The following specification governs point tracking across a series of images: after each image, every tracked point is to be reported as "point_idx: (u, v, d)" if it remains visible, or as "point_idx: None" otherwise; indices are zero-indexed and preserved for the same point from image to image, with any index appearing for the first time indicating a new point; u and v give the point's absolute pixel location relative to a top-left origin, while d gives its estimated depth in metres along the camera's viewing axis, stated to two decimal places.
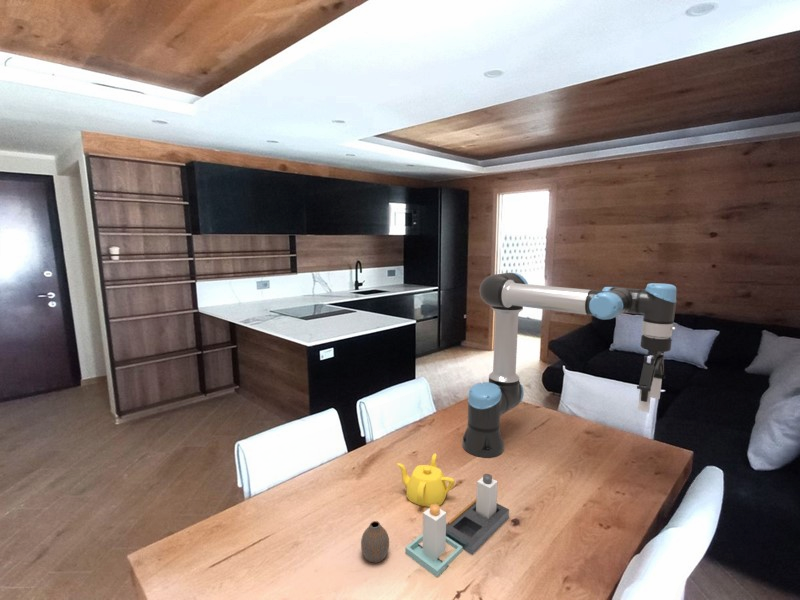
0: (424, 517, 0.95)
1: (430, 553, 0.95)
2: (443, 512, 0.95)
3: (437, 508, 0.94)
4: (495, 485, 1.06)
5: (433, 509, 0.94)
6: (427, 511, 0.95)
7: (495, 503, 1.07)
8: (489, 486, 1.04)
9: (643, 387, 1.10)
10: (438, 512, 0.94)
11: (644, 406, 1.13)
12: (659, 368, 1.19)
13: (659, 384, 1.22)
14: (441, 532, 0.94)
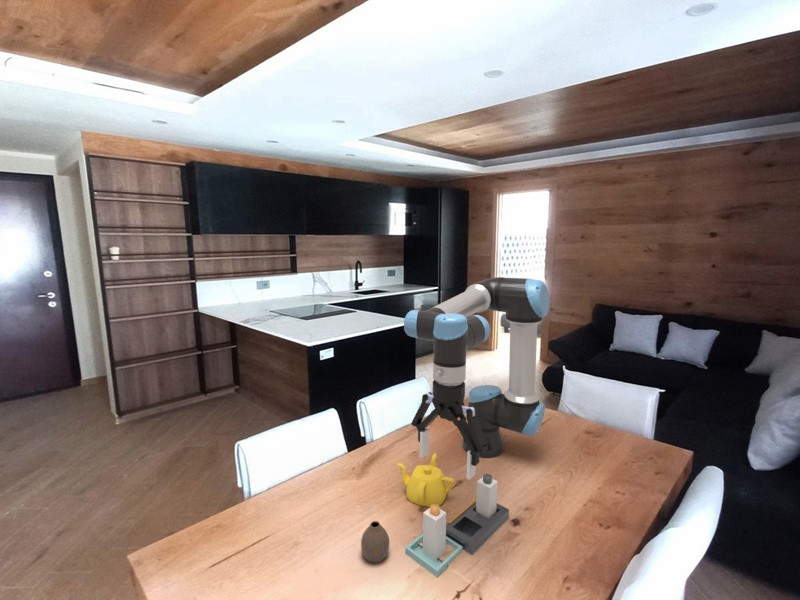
0: (424, 517, 0.95)
1: (430, 553, 0.95)
2: (443, 512, 0.95)
3: (437, 508, 0.94)
4: (495, 485, 1.06)
5: (433, 509, 0.94)
6: (427, 511, 0.95)
7: (495, 503, 1.07)
8: (489, 486, 1.04)
9: None
10: (438, 512, 0.94)
11: None
12: None
13: None
14: (441, 532, 0.94)
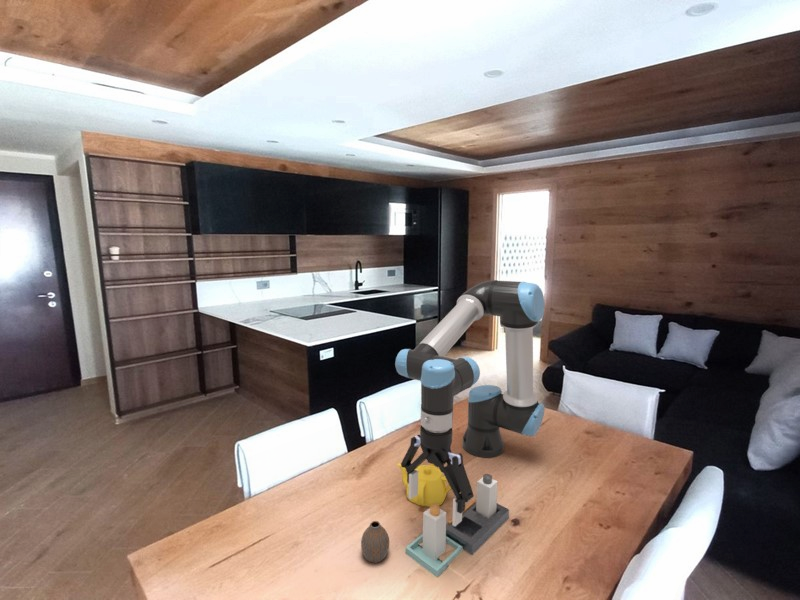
0: (424, 517, 0.95)
1: (430, 553, 0.95)
2: (443, 512, 0.95)
3: (437, 508, 0.94)
4: (495, 485, 1.06)
5: (433, 509, 0.94)
6: (427, 511, 0.95)
7: (495, 503, 1.07)
8: (489, 486, 1.04)
9: None
10: (438, 512, 0.94)
11: None
12: None
13: None
14: (441, 532, 0.94)
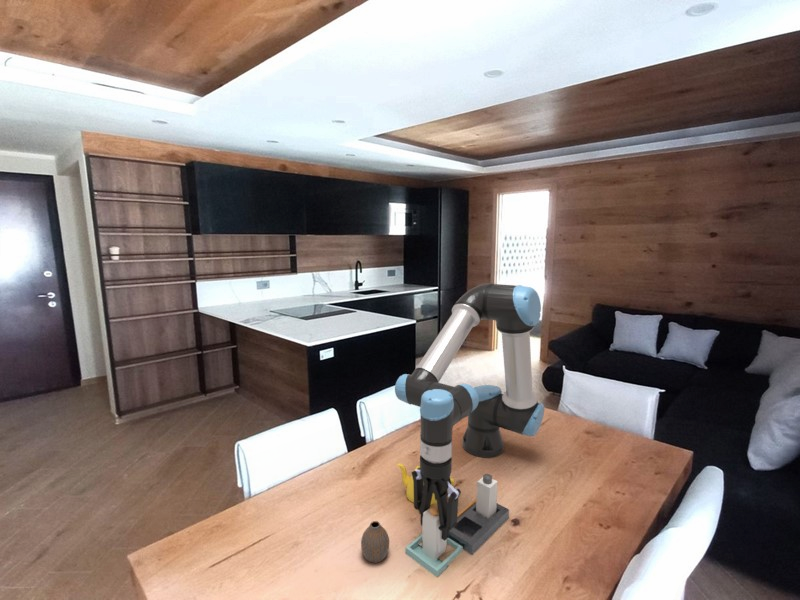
0: (424, 517, 0.95)
1: (430, 553, 0.95)
2: None
3: (437, 508, 0.94)
4: (495, 485, 1.06)
5: (433, 509, 0.94)
6: (427, 511, 0.95)
7: (495, 503, 1.07)
8: (489, 486, 1.04)
9: None
10: None
11: None
12: None
13: None
14: None
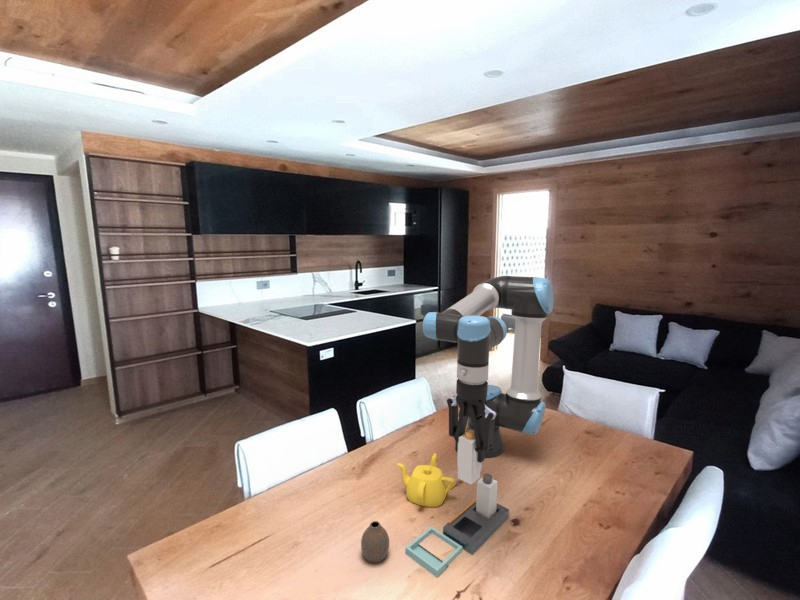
0: (460, 441, 0.97)
1: (465, 476, 0.97)
2: None
3: (473, 432, 0.97)
4: (495, 485, 1.06)
5: (469, 433, 0.96)
6: (462, 436, 0.98)
7: (495, 503, 1.07)
8: (489, 486, 1.04)
9: None
10: (474, 436, 0.97)
11: None
12: None
13: None
14: None
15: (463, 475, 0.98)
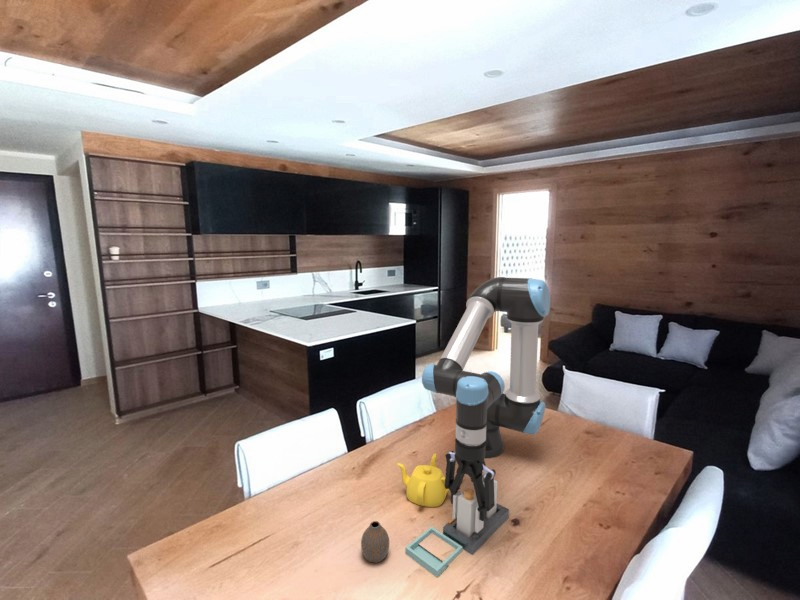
0: (459, 501, 1.00)
1: None
2: None
3: (471, 493, 0.99)
4: (495, 485, 1.06)
5: (468, 493, 0.99)
6: (461, 495, 1.00)
7: (495, 503, 1.07)
8: None
9: None
10: (472, 496, 0.99)
11: None
12: None
13: None
14: None
15: None
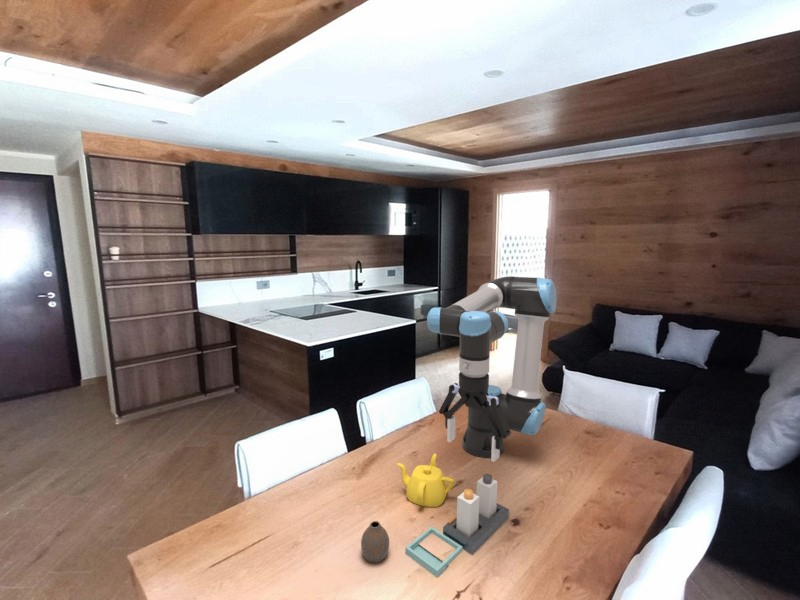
0: (458, 501, 1.00)
1: None
2: (476, 496, 1.00)
3: (471, 492, 0.99)
4: (495, 485, 1.06)
5: (467, 493, 0.99)
6: (461, 495, 1.00)
7: (495, 503, 1.07)
8: (489, 486, 1.04)
9: None
10: (472, 496, 0.99)
11: None
12: None
13: None
14: (474, 516, 0.99)
15: None
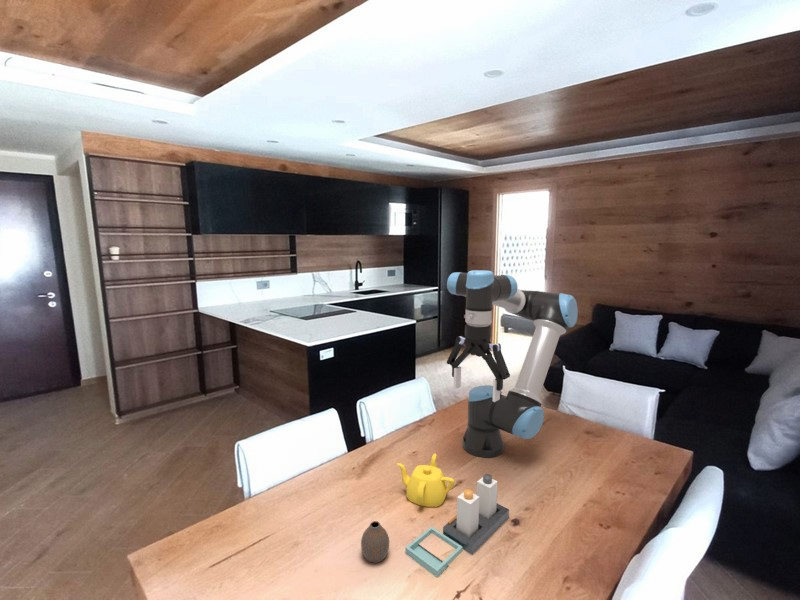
0: (458, 501, 1.00)
1: None
2: (476, 496, 1.00)
3: (471, 492, 0.99)
4: (495, 485, 1.06)
5: (467, 493, 0.99)
6: (461, 495, 1.00)
7: (495, 503, 1.07)
8: (489, 486, 1.04)
9: None
10: (472, 496, 0.99)
11: None
12: None
13: None
14: (474, 516, 0.99)
15: None
